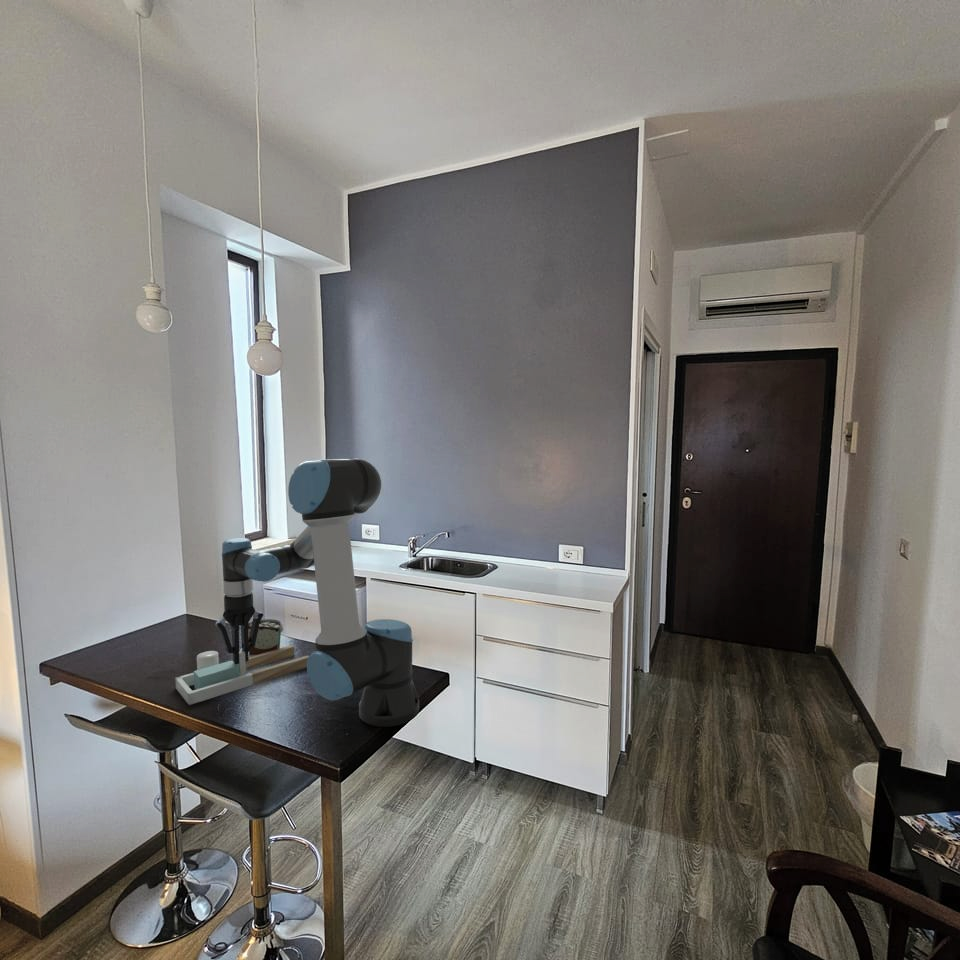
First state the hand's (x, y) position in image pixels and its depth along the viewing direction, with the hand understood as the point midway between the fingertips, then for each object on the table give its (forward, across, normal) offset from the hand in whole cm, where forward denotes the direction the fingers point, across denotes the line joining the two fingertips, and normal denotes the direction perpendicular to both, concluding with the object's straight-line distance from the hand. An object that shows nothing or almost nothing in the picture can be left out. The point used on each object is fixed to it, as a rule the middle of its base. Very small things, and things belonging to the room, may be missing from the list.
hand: (241, 673), depth 153 cm
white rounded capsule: (+2, +6, -9) cm, 11 cm away
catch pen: (+1, +7, 0) cm, 7 cm away
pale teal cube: (+2, +9, 0) cm, 9 cm away
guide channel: (+2, -9, 0) cm, 9 cm away
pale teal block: (+2, +4, 0) cm, 4 cm away
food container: (+2, -13, -13) cm, 18 cm away
